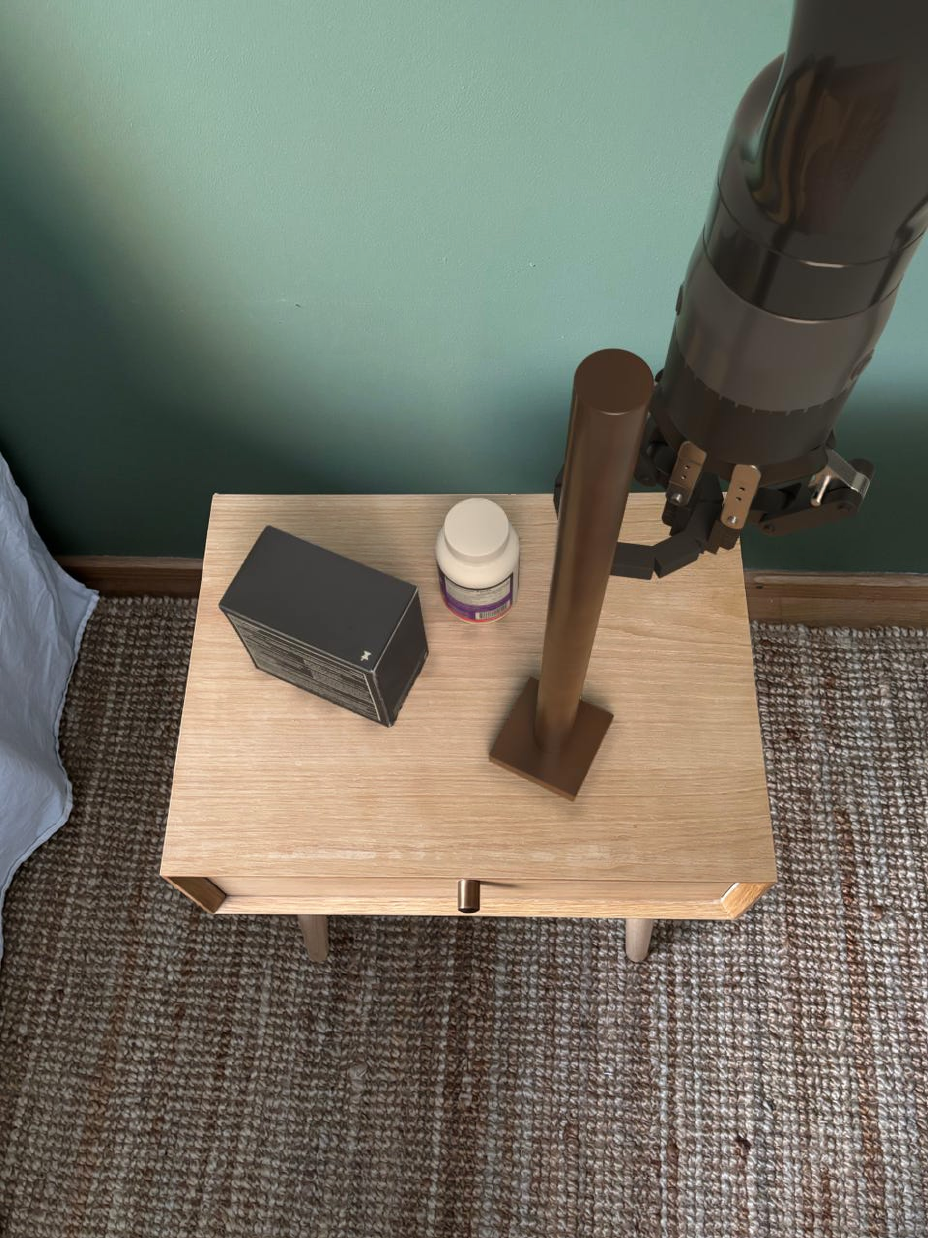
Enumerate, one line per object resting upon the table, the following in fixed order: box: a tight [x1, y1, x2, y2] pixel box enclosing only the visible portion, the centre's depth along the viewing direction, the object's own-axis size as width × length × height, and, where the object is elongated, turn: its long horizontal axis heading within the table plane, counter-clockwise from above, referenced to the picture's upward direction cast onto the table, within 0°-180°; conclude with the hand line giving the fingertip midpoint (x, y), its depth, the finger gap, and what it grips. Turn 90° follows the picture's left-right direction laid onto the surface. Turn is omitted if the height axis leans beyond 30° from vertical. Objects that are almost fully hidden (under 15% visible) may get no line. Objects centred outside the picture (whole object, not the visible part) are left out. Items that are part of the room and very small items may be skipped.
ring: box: [552, 444, 725, 581], centre depth 56 cm, size 9×9×1 cm
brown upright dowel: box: [489, 347, 655, 803], centre depth 49 cm, size 6×6×40 cm
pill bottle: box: [434, 497, 521, 626], centre depth 67 cm, size 5×5×10 cm
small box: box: [217, 524, 430, 729], centre depth 65 cm, size 11×6×10 cm, turn 65°
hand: (698, 530), depth 56 cm, fingers closed on ring, 1 cm apart
